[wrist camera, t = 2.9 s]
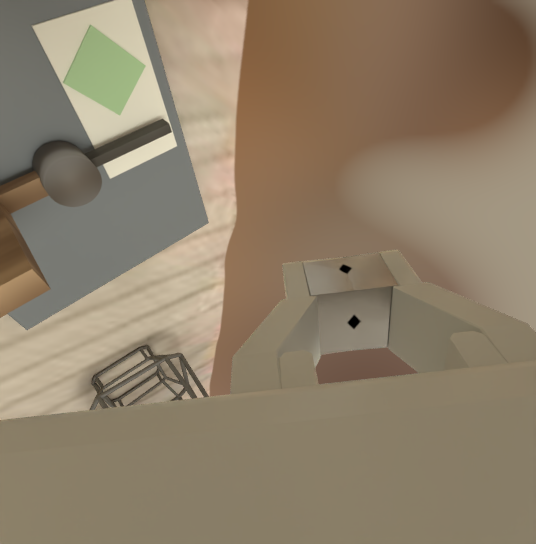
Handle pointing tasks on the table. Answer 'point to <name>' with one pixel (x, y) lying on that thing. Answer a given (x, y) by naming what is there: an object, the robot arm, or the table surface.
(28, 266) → the lever
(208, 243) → the table surface
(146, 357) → the geometric lantern
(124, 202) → the tuner board
